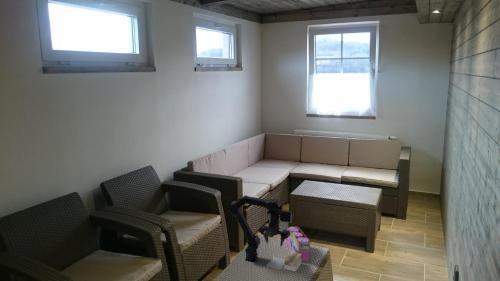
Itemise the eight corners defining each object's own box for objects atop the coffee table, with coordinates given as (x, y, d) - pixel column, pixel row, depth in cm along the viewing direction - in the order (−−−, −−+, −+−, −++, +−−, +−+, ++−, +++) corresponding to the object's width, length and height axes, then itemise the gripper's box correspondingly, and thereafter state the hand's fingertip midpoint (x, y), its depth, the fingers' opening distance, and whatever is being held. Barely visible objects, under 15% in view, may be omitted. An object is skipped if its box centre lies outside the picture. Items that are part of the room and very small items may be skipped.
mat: (265, 266, 225) (265, 266, 225) (274, 257, 236) (274, 256, 236) (279, 270, 221) (279, 269, 221) (287, 260, 232) (287, 259, 232)
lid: (284, 264, 221) (284, 259, 220) (291, 256, 230) (291, 251, 230) (294, 267, 218) (294, 262, 217) (301, 258, 227) (301, 254, 227)
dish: (284, 269, 222) (284, 263, 221) (290, 261, 231) (290, 256, 230) (295, 272, 219) (295, 266, 218) (301, 264, 228) (301, 259, 227)
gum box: (285, 244, 253) (285, 226, 250) (296, 243, 254) (297, 224, 252) (298, 262, 230) (298, 242, 227) (310, 261, 232) (310, 240, 229)
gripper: (254, 222, 221) (254, 246, 224) (283, 228, 213) (283, 254, 216) (262, 216, 231) (262, 239, 234) (290, 221, 222) (290, 245, 225)
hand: (274, 244), depth 227 cm, fingers open, 9 cm apart
